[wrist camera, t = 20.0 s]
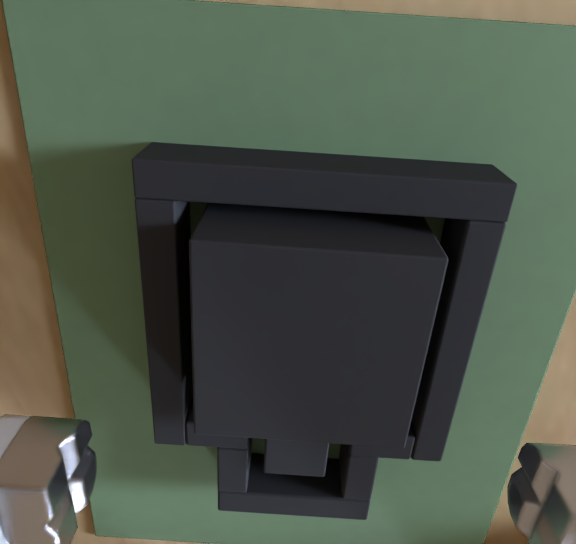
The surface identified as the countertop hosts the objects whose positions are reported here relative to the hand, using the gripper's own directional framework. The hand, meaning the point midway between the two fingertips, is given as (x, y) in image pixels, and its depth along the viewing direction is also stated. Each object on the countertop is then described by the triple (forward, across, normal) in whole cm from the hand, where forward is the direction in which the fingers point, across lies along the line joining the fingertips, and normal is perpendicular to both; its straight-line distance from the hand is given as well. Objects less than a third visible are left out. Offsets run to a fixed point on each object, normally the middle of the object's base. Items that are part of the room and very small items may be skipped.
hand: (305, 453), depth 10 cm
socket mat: (+8, 0, +2) cm, 8 cm away
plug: (+6, 0, +2) cm, 7 cm away
